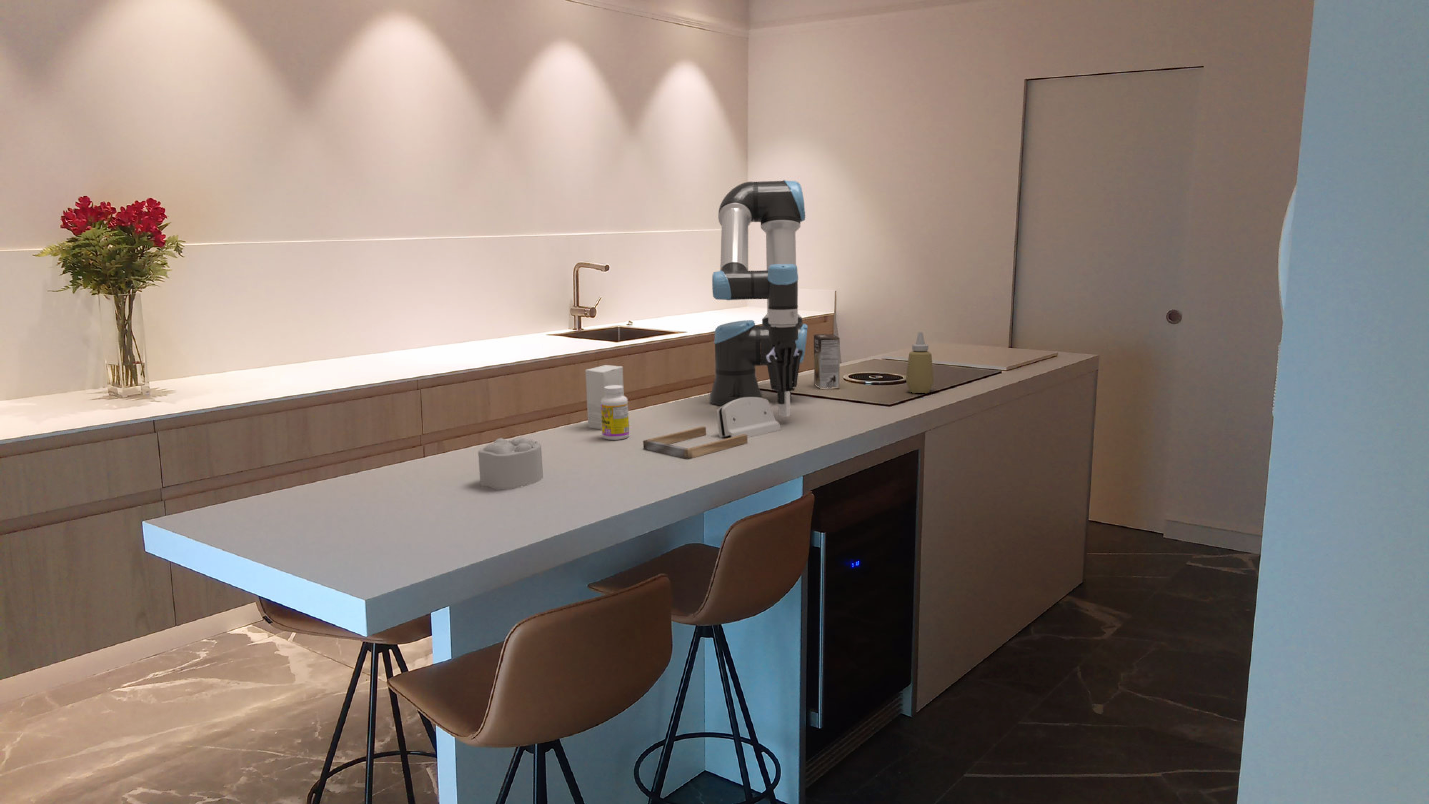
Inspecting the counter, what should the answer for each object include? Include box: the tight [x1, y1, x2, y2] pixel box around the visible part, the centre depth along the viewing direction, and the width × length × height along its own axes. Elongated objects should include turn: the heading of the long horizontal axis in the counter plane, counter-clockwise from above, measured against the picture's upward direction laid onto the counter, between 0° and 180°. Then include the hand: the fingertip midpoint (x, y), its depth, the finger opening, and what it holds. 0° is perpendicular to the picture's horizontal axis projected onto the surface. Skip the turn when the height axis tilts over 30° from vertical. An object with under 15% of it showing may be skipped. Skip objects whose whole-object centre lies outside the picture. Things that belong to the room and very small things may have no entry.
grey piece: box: [715, 397, 782, 438], centre depth 239 cm, size 17×5×10 cm, turn 131°
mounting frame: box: [642, 426, 749, 460], centre depth 226 cm, size 15×20×2 cm
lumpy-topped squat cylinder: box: [477, 436, 544, 491], centre depth 200 cm, size 10×13×9 cm
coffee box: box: [813, 333, 841, 388], centre depth 298 cm, size 9×6×16 cm
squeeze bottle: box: [905, 332, 935, 394], centre depth 285 cm, size 8×8×18 cm
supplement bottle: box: [601, 385, 630, 441], centre depth 236 cm, size 7×7×13 cm
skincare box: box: [584, 364, 625, 431], centre depth 249 cm, size 8×7×16 cm
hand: (784, 415), depth 249 cm, fingers closed
